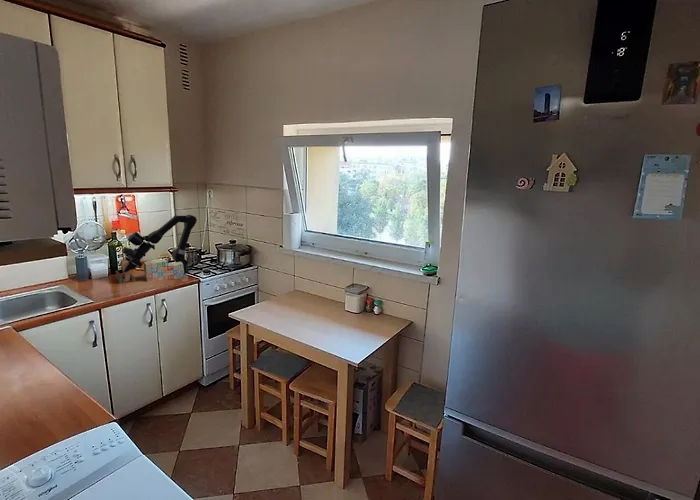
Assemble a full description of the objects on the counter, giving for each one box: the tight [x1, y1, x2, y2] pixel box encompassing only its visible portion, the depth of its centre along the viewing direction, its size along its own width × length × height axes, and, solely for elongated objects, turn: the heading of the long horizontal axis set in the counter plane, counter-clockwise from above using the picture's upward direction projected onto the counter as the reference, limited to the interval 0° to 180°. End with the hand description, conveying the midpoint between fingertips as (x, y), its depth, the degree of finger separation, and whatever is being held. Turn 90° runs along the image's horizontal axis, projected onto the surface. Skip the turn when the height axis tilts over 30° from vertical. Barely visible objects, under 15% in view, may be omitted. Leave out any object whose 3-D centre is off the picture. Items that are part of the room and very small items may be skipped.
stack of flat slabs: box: [115, 270, 138, 285], centre depth 226 cm, size 9×12×6 cm
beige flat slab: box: [121, 259, 131, 281], centre depth 225 cm, size 2×6×12 cm, turn 41°
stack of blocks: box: [143, 258, 185, 283], centre depth 233 cm, size 21×6×12 cm, turn 128°
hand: (123, 270), depth 224 cm, fingers open, 6 cm apart
